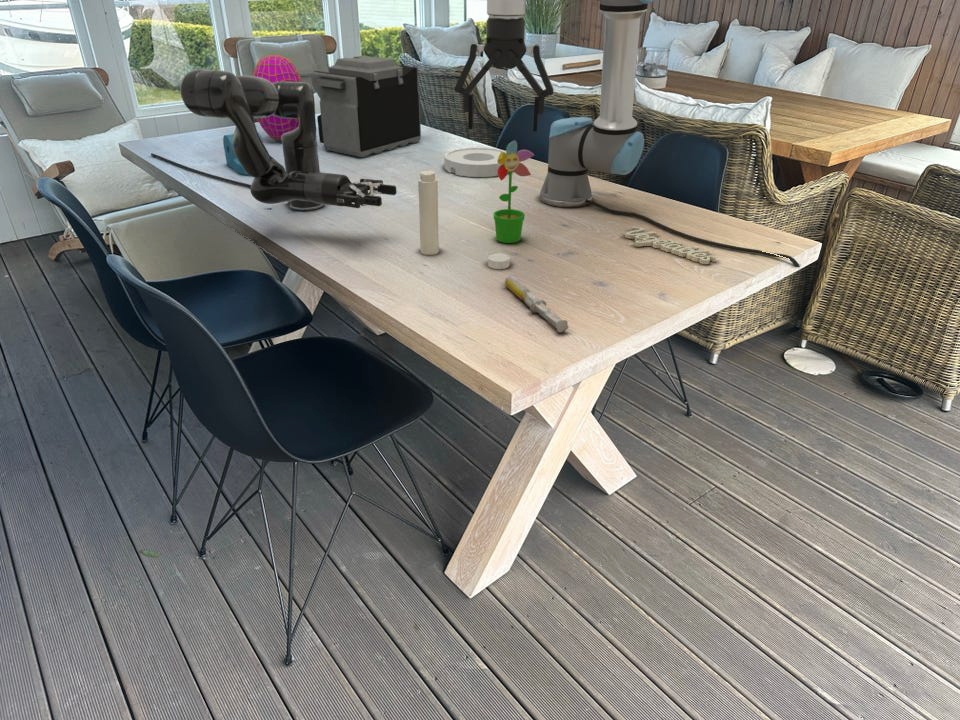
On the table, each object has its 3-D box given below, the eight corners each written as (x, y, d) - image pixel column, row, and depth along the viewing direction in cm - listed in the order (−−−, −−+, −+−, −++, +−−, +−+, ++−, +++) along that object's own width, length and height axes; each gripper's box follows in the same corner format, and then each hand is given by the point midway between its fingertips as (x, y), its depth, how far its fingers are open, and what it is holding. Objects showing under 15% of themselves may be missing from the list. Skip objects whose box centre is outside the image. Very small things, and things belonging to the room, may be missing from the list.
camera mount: (227, 164, 233) (221, 132, 227) (257, 160, 238) (252, 129, 233) (244, 176, 220) (239, 143, 215) (276, 172, 225) (271, 139, 220)
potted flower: (500, 246, 170) (503, 143, 157) (485, 236, 176) (487, 136, 163) (533, 241, 173) (538, 139, 161) (517, 231, 179) (521, 133, 167)
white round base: (447, 158, 243) (446, 146, 241) (512, 159, 243) (512, 148, 241) (441, 176, 223) (441, 164, 221) (512, 177, 223) (513, 165, 221)
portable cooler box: (383, 133, 276) (378, 52, 261) (425, 141, 265) (422, 56, 250) (314, 150, 251) (304, 61, 235) (358, 160, 240) (350, 67, 224)
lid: (513, 263, 161) (513, 255, 160) (504, 270, 157) (504, 263, 156) (493, 259, 163) (493, 251, 162) (484, 267, 159) (484, 259, 158)
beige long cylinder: (417, 250, 167) (414, 171, 158) (432, 247, 170) (430, 168, 160) (426, 256, 164) (424, 176, 155) (442, 252, 167) (440, 173, 157)
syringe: (500, 283, 150) (500, 272, 149) (516, 281, 152) (516, 270, 150) (551, 335, 131) (552, 322, 129) (568, 332, 132) (569, 319, 130)
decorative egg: (293, 132, 276) (283, 50, 261) (319, 140, 264) (310, 56, 249) (249, 139, 265) (236, 54, 250) (273, 148, 253) (261, 60, 238)
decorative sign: (611, 234, 176) (635, 225, 181) (610, 237, 176) (634, 229, 182) (700, 264, 159) (723, 254, 164) (699, 268, 159) (723, 257, 165)
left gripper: (311, 182, 160) (374, 189, 156) (339, 165, 171) (399, 171, 167) (315, 213, 164) (377, 221, 160) (342, 195, 175) (401, 201, 171)
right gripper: (570, 16, 136) (562, 127, 147) (445, 14, 138) (447, 123, 149) (570, 19, 130) (562, 135, 140) (439, 17, 132) (441, 130, 143)
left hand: (388, 195), depth 163 cm, fingers open, 8 cm apart
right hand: (502, 129), depth 145 cm, fingers open, 13 cm apart
